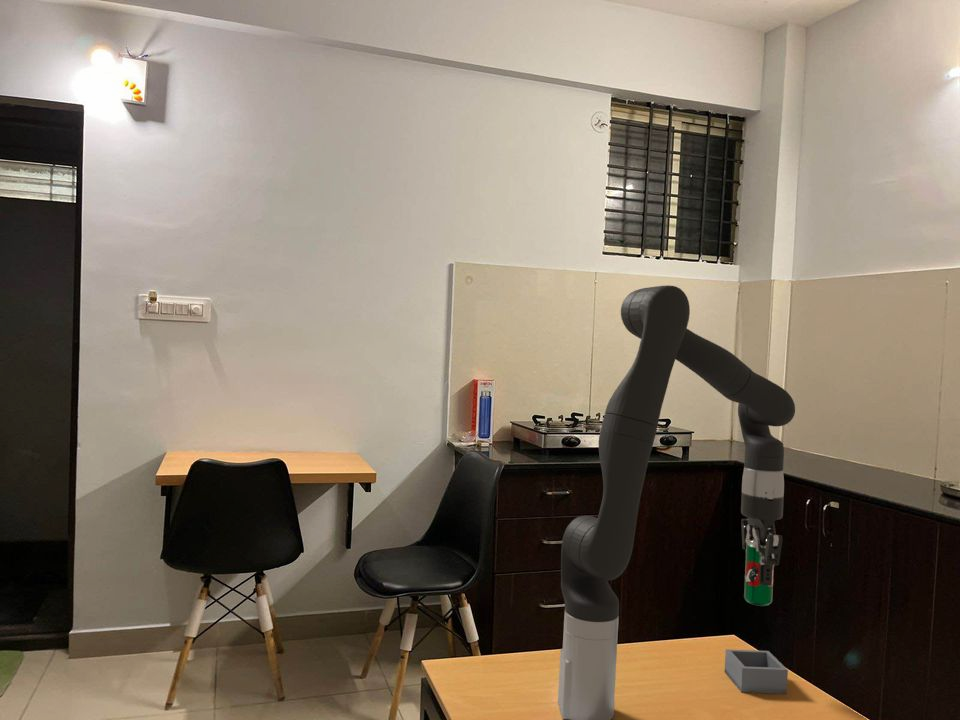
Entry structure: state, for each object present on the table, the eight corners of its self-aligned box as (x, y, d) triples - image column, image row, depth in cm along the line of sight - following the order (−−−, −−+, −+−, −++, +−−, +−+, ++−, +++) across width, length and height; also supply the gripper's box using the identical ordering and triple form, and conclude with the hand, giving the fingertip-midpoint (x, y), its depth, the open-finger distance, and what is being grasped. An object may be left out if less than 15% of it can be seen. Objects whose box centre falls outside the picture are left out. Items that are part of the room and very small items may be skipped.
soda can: (774, 608, 137) (777, 544, 137) (746, 605, 138) (748, 542, 138) (769, 599, 142) (771, 538, 142) (742, 596, 143) (744, 535, 143)
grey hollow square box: (741, 692, 135) (742, 668, 135) (724, 671, 144) (725, 649, 144) (786, 693, 136) (787, 670, 136) (767, 673, 144) (768, 650, 144)
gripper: (729, 484, 146) (726, 568, 147) (758, 499, 132) (754, 592, 132) (766, 485, 147) (762, 568, 147) (799, 500, 132) (795, 593, 133)
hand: (758, 579), depth 140 cm, fingers closed on soda can, 5 cm apart
